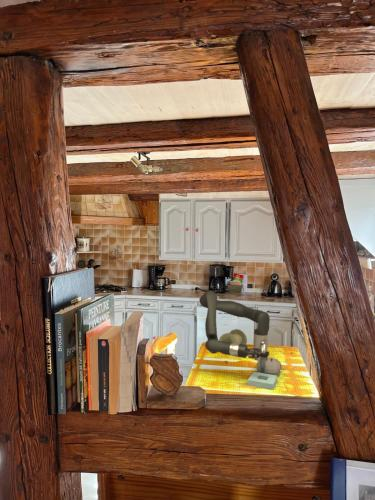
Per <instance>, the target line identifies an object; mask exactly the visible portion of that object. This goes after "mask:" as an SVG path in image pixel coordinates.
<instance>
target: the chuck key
mask: <svg viewBox="0 0 375 500" xmlns="http://www.w3.org/2000/svg"><path fill="white" fill-rule="evenodd" d="M265 342H266V340H265V339H264V340H263V341H262V342H261V343H260V353H266V343H265ZM260 372H262V373H265V372H266V358H264V357H260Z"/></svg>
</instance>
